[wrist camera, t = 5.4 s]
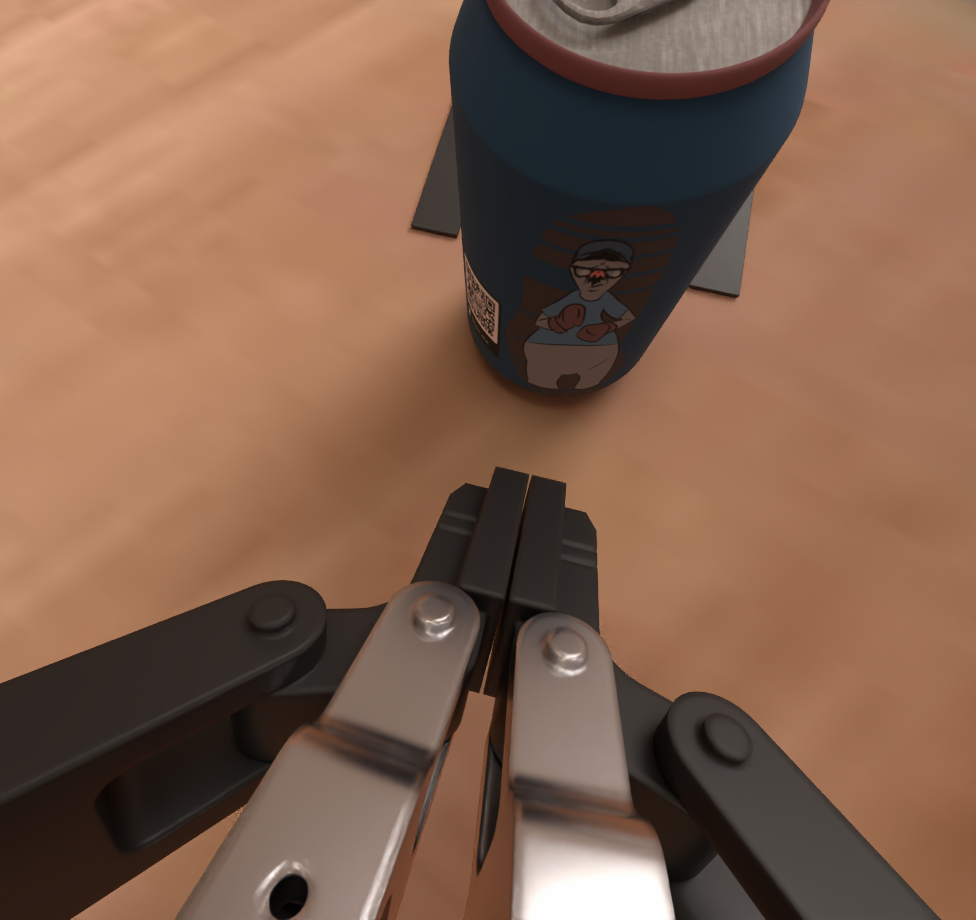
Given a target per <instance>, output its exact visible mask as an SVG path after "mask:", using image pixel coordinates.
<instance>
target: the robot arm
mask: <svg viewBox="0 0 976 920" xmlns="http://www.w3.org/2000/svg"><path fill="white" fill-rule="evenodd" d="M528 478H529V474H526V473H522V472H517V471H513V470H509V469H505V468H501V467H497V466H496V467H495V470H494V473H493V476H492V480H491V483H490V486H489V489H488V488H483V487H479V486H475V485H471V484H467V483H465V484H464V485H463V486H461V487H460V488H458V489H457V490H456V491H454V492H453V493H451V494H450V496H449V498H448V500H447V502H446V505H445V507H444V509H443V512H442V514H441V516H440V518H439V521H438V523H437V526H436V528H435V530H434V532H433V534H432V536H431V539H430V541H429V543H428V545H427V548H426V550H425V552H424V554H423V557H422V559H421V561H420V563H419V566H418V568H417V570H416V573H415V575H414V577H413V579H412V581H411V583H410V585H408V586H405V587H403V588H402V589H400V590H399V591H398V592H397V593H395V594H394V595H393V596H392V598H391V599H390V601H389V602H387V603H385V604H381V605H378V606H374V607H369V608H359V609H326V605H325V602H324V600H323V598H322V597H321V595H320V594H319V593H318V592H317V591H316V590H314V589H313V588H311V587H309V586H307V585H305V584H303V583H299V582H295V581H287V580H278V581H269V582H264V583H261V584H257V585H254V586H252V587H249V588H246V589H244V590H241V591H239V592H236V593H234V594H231V595H228V596H226V597H223V598H221V599H218V600H215V601H213V602H210V603H208V604H205V605H202V606H200V607H197V608H195V609H192V610H190V611H187V612H184V613H182V614H179V615H177V616H174V617H171V618H169V619H166V620H164V621H161V622H158V623H156V624H153V625H151V626H148V627H146V628H143V629H140V630H138V631H135V632H133V633H130V634H127V635H125V636H122V637H120V638H117V639H114V640H112V641H109V642H107V643H104V644H102V645H99V646H96V647H94V648H91V649H89V650H86V651H83V652H81V653H78V654H76V655H73V656H70V657H68V658H65V659H63V660H60V661H58V662H55V663H52V664H50V665H47V666H45V667H42V668H39V669H37V670H34V671H32V672H29V673H26V674H24V675H21V676H19V677H16V678H14V679H11V680H8V681H6V682H3V683H1V684H0V920H70V919H71V918H73V917H75V916H76V915H78V914H79V913H81V912H82V911H84V910H85V909H87V908H88V907H90V906H91V905H93V904H94V903H96V902H97V901H99V900H100V899H102V898H104V897H105V896H107V895H108V894H110V893H111V892H113V891H114V890H116V889H117V888H119V887H120V886H122V885H123V884H125V883H126V882H128V881H129V880H131V879H133V878H134V877H136V876H137V875H139V874H140V873H142V872H143V871H145V870H146V869H148V868H149V867H151V866H152V865H154V864H155V863H157V862H158V861H160V860H162V859H163V858H165V857H166V856H168V855H169V854H171V853H172V852H174V851H175V850H177V849H178V848H180V847H181V846H183V845H184V844H186V843H187V842H189V841H191V840H192V839H194V838H195V837H197V836H198V835H200V834H201V833H203V832H204V831H206V830H207V829H209V828H210V827H212V826H213V825H215V824H216V823H218V822H220V821H221V820H223V819H224V818H226V817H227V816H229V815H230V814H232V813H233V812H235V811H236V810H238V809H239V808H241V807H242V806H244V805H245V804H247V805H246V806H245V808H244V809H243V811H242V813H241V814H240V816H239V817H238V819H237V821H236V822H235V824H234V825H233V827H232V829H231V830H230V832H229V833H228V835H227V837H226V838H225V840H224V841H223V843H222V845H221V846H220V848H219V849H218V851H217V853H216V854H215V856H214V857H213V859H212V860H211V862H210V864H209V865H208V867H207V868H206V870H205V872H204V873H203V875H202V876H201V878H200V880H199V881H198V883H197V884H196V886H195V888H194V889H193V891H192V892H191V894H190V896H189V897H188V899H187V900H186V902H185V904H184V905H183V907H182V908H181V910H180V912H179V913H178V915H177V916H176V918H175V920H396V918H397V914H398V911H399V908H400V904H401V901H402V898H403V894H404V891H405V887H406V883H407V880H408V876H409V873H410V870H411V867H412V863H413V860H414V857H415V854H416V851H417V848H418V844H419V841H420V838H421V835H422V832H423V829H424V826H425V823H426V820H427V817H428V814H429V810H430V807H431V804H432V801H433V798H434V795H435V792H436V789H437V786H438V783H439V779H440V776H441V773H442V770H443V767H444V764H445V761H446V758H447V755H448V752H449V748H450V745H451V742H452V739H453V736H454V733H455V731H456V730H457V729H458V727H459V725H460V723H461V720H462V716H463V712H464V708H465V704H466V700H467V696H468V692H469V691H473V692H477V693H479V692H480V688H481V685H482V681H483V677H484V674H485V670H486V666H487V662H488V659H489V655H490V651H491V648H492V644H493V648H492V653H491V658H490V662H489V667H488V672H487V677H486V682H485V687H484V692H483V694H485V695H489V696H492V697H496V698H495V704H494V710H493V715H492V721H491V725H490V728H489V731H488V735H487V738H486V742H485V748H484V757H483V767H482V776H481V785H480V795H479V804H478V814H477V823H476V832H475V842H474V851H473V861H472V870H471V878H470V886H469V892H468V898H467V903H466V908H465V913H464V918H463V920H941V919H940V918H939V917H938V916H937V915H936V914H935V913H934V912H933V911H932V909H931V908H930V907H929V906H928V905H927V904H926V903H925V902H924V901H923V900H922V899H921V898H920V897H919V896H918V895H917V893H916V892H915V891H914V890H913V889H912V888H911V887H910V886H909V885H908V884H907V883H906V882H905V881H904V880H903V878H902V877H901V876H900V875H899V874H898V873H897V872H896V871H895V870H894V869H893V868H892V867H891V866H890V865H889V864H888V862H887V861H886V860H885V859H884V858H883V857H882V856H881V855H880V854H879V853H878V852H877V851H876V850H875V849H874V848H873V846H872V845H871V844H870V843H869V842H868V841H867V840H866V839H865V838H864V837H863V836H862V835H861V834H860V833H859V832H858V830H857V829H856V828H855V827H854V826H853V825H852V824H851V823H850V822H849V821H848V820H847V819H846V818H845V817H844V816H843V814H842V813H841V812H840V811H839V810H838V809H837V808H836V807H835V806H834V805H833V804H832V803H831V802H830V801H829V800H828V798H827V797H826V796H825V795H824V794H823V793H822V792H821V791H820V790H819V789H818V788H817V787H816V786H815V785H814V783H813V782H812V781H811V780H810V779H809V778H808V777H807V776H806V775H805V774H804V773H803V772H802V771H801V770H800V769H799V767H798V766H797V765H796V764H795V763H794V762H793V761H792V760H791V759H790V758H789V757H788V756H787V755H786V754H785V753H784V751H783V750H782V749H781V748H780V747H779V746H778V745H777V744H776V743H775V742H774V741H773V740H772V739H771V738H770V737H769V735H768V734H767V733H766V732H765V731H764V730H763V729H762V728H761V727H760V726H759V725H758V724H757V723H756V722H755V721H754V720H753V719H752V718H751V717H750V716H749V715H748V714H747V713H746V712H744V711H743V710H742V709H741V708H739V707H738V706H736V705H735V704H733V703H732V702H730V701H728V700H726V699H724V698H722V697H720V696H717V695H714V694H711V693H706V692H688V693H686V694H683V695H681V696H679V697H678V698H677V699H676V700H675V701H674V702H672V701H670V700H668V699H666V698H665V697H663V696H661V695H659V694H658V693H656V692H654V691H652V690H651V689H649V688H647V687H645V686H644V685H642V684H640V683H638V682H637V681H635V680H634V679H632V678H631V677H630V676H628V675H627V674H626V673H625V672H623V671H622V670H621V669H620V668H619V667H618V666H617V665H616V664H615V662H614V661H613V660H612V657H611V653H610V651H609V648H608V646H607V644H606V643H605V641H604V640H603V638H602V637H601V636H600V631H599V607H598V572H597V553H596V550H597V537H596V529H595V527H594V526H593V524H592V522H591V521H590V519H589V517H588V515H587V514H586V512H582V511H578V510H574V509H570V508H566V507H565V495H566V483H563V482H559V481H555V480H551V479H547V478H543V477H539V476H535V475H532V477H531V480H530V484H529V488H528V491H527V495H526V499H525V494H526V489H527V484H528ZM524 499H525V503H524ZM523 504H524V507H523ZM522 509H523V511H522ZM494 636H495V638H494ZM493 640H494V643H493Z"/></svg>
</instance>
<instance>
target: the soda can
mask: <svg viewBox="0 0 976 920" xmlns="http://www.w3.org/2000/svg"><path fill="white" fill-rule="evenodd" d="M829 1H830V0H464V1H463V3H462V6H461V8H460V11H459V14H458V17H457V20H456V23H455V26H454V29H453V33H452V37H451V43H450V50H449V69H450V83H451V96H452V110H453V124H454V137H455V151H456V164H457V178H458V191H459V205H460V218H461V232H462V245H463V259H464V272H465V286H466V299H467V313H468V322H469V326H470V330H471V333H472V336H473V339H474V341H475V343H476V345H477V347H478V349H479V351H480V352H481V354H482V355H483V356H484V358H485V359H486V360H487V362H488V363H489V364H490V365H491V366H492V367H493V368H494V369H495V370H496V371H497V372H498V373H500V374H501V375H502V376H504V377H505V378H506V379H508V380H509V381H511V382H513V383H515V384H516V385H519V386H521V387H523V388H525V389H528V390H531V391H534V392H537V393H542V394H547V395H555V396H572V395H580V394H585V393H590V392H593V391H596V390H599V389H601V388H604V387H606V386H608V385H610V384H612V383H614V382H615V381H617V380H618V379H620V378H621V377H623V376H624V375H625V374H626V373H627V372H629V371H630V370H631V369H632V368H633V367H634V366H635V364H636V363H637V362H638V361H639V359H640V358H641V357H642V355H643V354H644V352H645V351H646V349H647V348H648V346H649V345H650V343H651V342H652V340H653V339H654V337H655V336H656V334H657V333H658V331H659V330H660V328H661V327H662V325H663V324H664V322H665V321H666V319H667V318H668V316H669V315H670V313H671V312H672V310H673V309H674V307H675V306H676V304H677V303H678V301H679V300H680V298H681V297H682V295H683V294H684V292H685V291H686V289H687V288H688V286H689V285H690V283H691V282H692V280H693V279H694V277H695V276H696V274H697V273H698V271H699V270H700V268H701V267H702V265H703V264H704V262H705V261H706V259H707V258H708V256H709V255H710V253H711V252H712V250H713V249H714V247H715V246H716V244H717V243H718V241H719V240H720V238H721V237H722V235H723V234H724V232H725V231H726V229H727V228H728V226H729V225H730V223H731V222H732V220H733V219H734V217H735V216H736V214H737V213H738V211H739V210H740V208H741V207H742V205H743V204H744V202H745V201H746V199H747V198H748V196H749V195H750V193H751V192H752V190H753V189H754V187H755V186H756V184H757V183H758V181H759V180H760V178H761V177H762V175H763V174H764V172H765V171H766V170H767V168H768V167H769V165H770V164H771V162H772V161H773V159H774V158H775V156H776V155H777V153H778V152H779V150H780V149H781V147H782V146H783V144H784V143H785V141H786V140H787V138H788V137H789V135H790V133H791V131H792V130H793V128H794V126H795V124H796V122H797V119H798V117H799V115H800V112H801V109H802V106H803V102H804V98H805V93H806V88H807V82H808V75H809V67H810V59H811V51H812V43H813V35H814V29H815V28H816V26H817V24H818V23H819V21H820V19H821V18H822V16H823V14H824V12H825V10H826V8H827V6H828V4H829Z"/></svg>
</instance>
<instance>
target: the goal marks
mask: <svg viewBox="0 0 976 920" xmlns="http://www.w3.org/2000/svg"><path fill="white" fill-rule="evenodd" d="M753 192H754V189H753V190H752V192H751V193H750V195H749V196H748V198H747V199H746V201H745V202H744V204H743V205H742V207H741V208H740V210H739V211H738V213H737V214H736V216H735V217H734V219H733V220H732V222H731V223H730V225H729V226H728V228H727V229H726V231H725V232H724V234H723V235H722V237H721V238H720V240H719V241H718V243H717V244H716V246H715V247H714V249H713V250H712V252H711V253H710V255H709V256H708V258H707V259H706V261H705V262H704V264H703V265H702V267H701V268H700V270H699V271H698V273H697V274H696V276H695V277H694V279H693V280H692V282H691V283H690V285H689V287H691V288H695V289H700V290H705V291H709V292H714V293H719V294H723V295H728V296H733V297H738V296H739V294H740V287H741V280H742V272H743V265H744V258H745V250H746V243H747V236H748V228H749V221H750V214H751V206H752V199H753ZM460 226H461V218H460V205H459V191H458V178H457V164H456V151H455V137H454V124H453V110H452V107H451V110H450V113H449V116H448V119H447V122H446V125H445V128H444V131H443V134H442V136H441V139H440V142H439V145H438V148H437V151H436V154H435V157H434V160H433V163H432V166H431V169H430V172H429V174H428V177H427V180H426V183H425V186H424V189H423V192H422V195H421V198H420V201H419V204H418V207H417V210H416V212H415V215H414V218H413V221H412V224H411V227H412V228H415V229H420V230H424V231H429V232H434V233H438V234H443V235H448V236H452V237H457V236H458V233H459V230H460Z"/></svg>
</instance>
